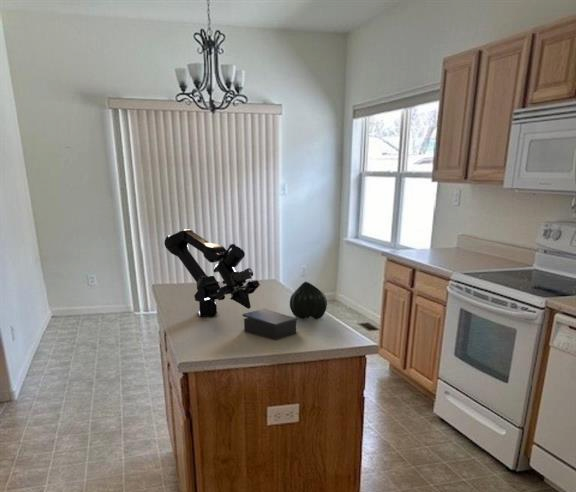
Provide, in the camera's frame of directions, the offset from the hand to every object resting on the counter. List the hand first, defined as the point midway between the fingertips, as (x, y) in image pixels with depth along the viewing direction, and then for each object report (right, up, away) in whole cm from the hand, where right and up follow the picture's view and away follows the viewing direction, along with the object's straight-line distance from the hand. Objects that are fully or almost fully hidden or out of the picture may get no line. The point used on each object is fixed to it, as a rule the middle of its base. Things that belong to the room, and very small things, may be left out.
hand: (249, 308), depth 202 cm
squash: (+23, -2, +17) cm, 28 cm away
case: (+8, -9, -4) cm, 13 cm away
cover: (+8, -4, -5) cm, 10 cm away
